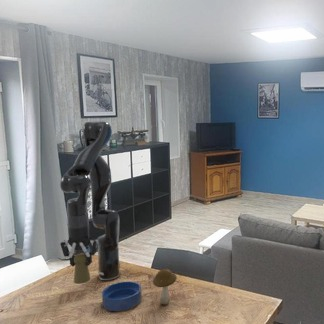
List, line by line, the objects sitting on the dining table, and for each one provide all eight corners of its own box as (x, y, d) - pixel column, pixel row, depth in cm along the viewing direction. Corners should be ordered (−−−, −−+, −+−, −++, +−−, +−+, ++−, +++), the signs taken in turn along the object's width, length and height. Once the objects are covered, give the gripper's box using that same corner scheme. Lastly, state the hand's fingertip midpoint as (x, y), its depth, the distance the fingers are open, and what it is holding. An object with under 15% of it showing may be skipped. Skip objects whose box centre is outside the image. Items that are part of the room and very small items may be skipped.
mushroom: (180, 297, 146) (180, 264, 145) (170, 311, 135) (169, 276, 133) (160, 295, 148) (160, 262, 146) (149, 309, 137) (148, 274, 135)
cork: (83, 284, 133) (82, 258, 132) (70, 282, 134) (68, 256, 133) (93, 277, 139) (92, 252, 138) (80, 275, 140) (79, 250, 139)
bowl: (108, 294, 148) (108, 282, 148) (144, 292, 150) (143, 280, 150) (97, 313, 134) (97, 300, 133) (137, 311, 135) (137, 298, 135)
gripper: (100, 221, 138) (102, 260, 141) (63, 222, 136) (66, 262, 139) (94, 227, 131) (96, 268, 133) (55, 228, 129) (58, 270, 131)
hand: (81, 265), depth 136 cm, fingers closed on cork, 5 cm apart
